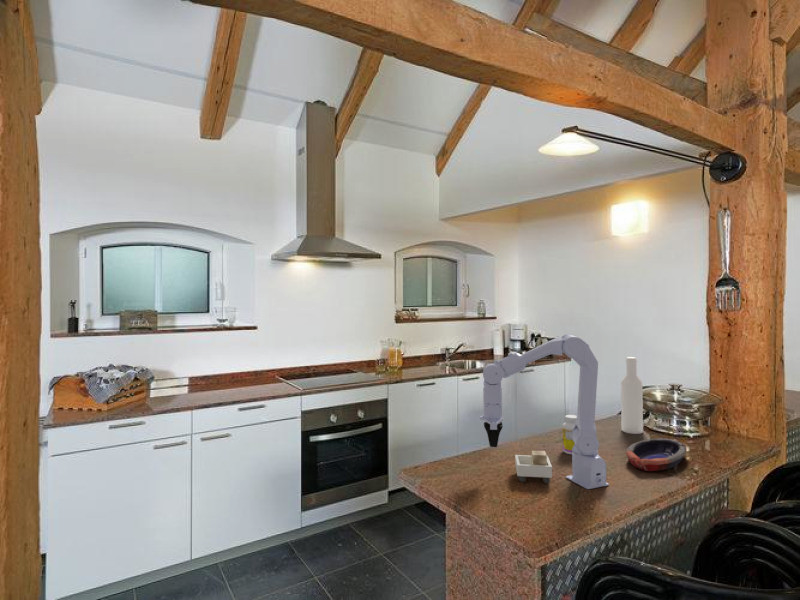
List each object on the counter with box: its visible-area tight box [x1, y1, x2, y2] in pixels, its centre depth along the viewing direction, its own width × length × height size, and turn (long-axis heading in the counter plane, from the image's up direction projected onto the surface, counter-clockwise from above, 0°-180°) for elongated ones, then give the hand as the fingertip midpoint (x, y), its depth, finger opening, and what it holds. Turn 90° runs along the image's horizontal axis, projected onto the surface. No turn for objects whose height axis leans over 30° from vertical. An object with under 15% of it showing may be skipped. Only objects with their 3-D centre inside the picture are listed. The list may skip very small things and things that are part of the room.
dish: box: [625, 438, 687, 472], centre depth 157 cm, size 16×31×5 cm, turn 130°
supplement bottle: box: [562, 414, 577, 456], centre depth 167 cm, size 7×7×13 cm
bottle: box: [620, 356, 644, 435], centre depth 190 cm, size 8×8×30 cm
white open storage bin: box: [514, 454, 553, 484], centre depth 144 cm, size 10×9×5 cm
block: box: [531, 450, 548, 465], centre depth 144 cm, size 4×4×5 cm
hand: (493, 446), depth 146 cm, fingers closed
